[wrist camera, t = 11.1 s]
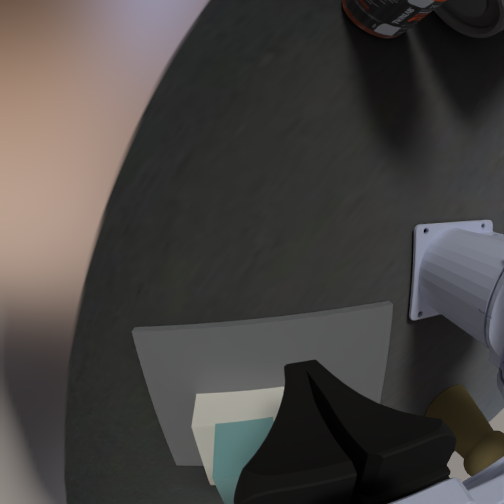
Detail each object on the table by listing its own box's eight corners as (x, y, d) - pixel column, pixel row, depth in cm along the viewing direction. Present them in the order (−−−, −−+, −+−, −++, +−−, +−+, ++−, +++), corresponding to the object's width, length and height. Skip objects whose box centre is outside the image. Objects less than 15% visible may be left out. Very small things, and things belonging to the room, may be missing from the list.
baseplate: (388, 300, 23) (393, 304, 22) (368, 437, 26) (371, 442, 25) (134, 327, 22) (131, 331, 21) (177, 459, 25) (176, 465, 25)
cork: (472, 391, 26) (523, 443, 16) (440, 429, 27) (482, 485, 16) (451, 378, 25) (509, 437, 15) (415, 420, 26) (461, 486, 16)
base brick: (295, 384, 23) (305, 416, 19) (295, 446, 25) (303, 476, 21) (196, 393, 23) (191, 426, 19) (212, 453, 24) (210, 485, 20)
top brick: (272, 416, 19) (282, 470, 14) (282, 477, 21) (290, 522, 16) (215, 423, 19) (212, 478, 14) (235, 482, 20) (237, 528, 16)
